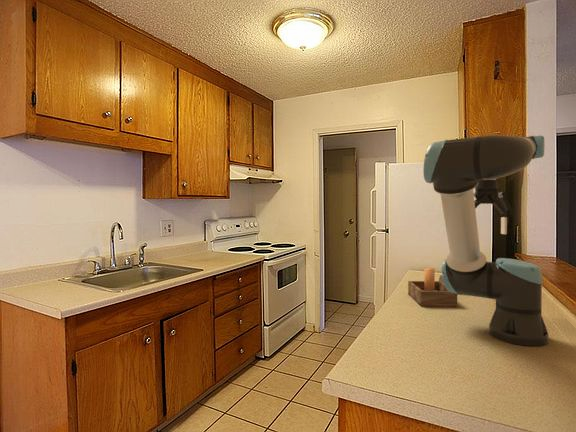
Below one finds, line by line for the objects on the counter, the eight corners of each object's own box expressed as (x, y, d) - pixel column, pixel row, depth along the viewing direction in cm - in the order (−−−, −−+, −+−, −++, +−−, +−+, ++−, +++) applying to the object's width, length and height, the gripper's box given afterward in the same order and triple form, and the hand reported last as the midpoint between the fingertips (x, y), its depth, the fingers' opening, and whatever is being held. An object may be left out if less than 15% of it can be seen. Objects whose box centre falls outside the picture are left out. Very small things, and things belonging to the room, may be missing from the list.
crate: (457, 306, 133) (457, 291, 133) (420, 306, 134) (420, 291, 134) (440, 294, 151) (440, 281, 151) (408, 294, 152) (408, 281, 152)
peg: (435, 297, 142) (436, 269, 142) (426, 297, 143) (426, 269, 142) (432, 295, 146) (432, 267, 146) (423, 295, 147) (423, 267, 146)
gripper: (514, 179, 134) (513, 233, 135) (449, 181, 136) (449, 233, 137) (525, 178, 126) (525, 234, 127) (457, 179, 128) (456, 235, 129)
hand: (485, 234), depth 132 cm, fingers open, 13 cm apart
